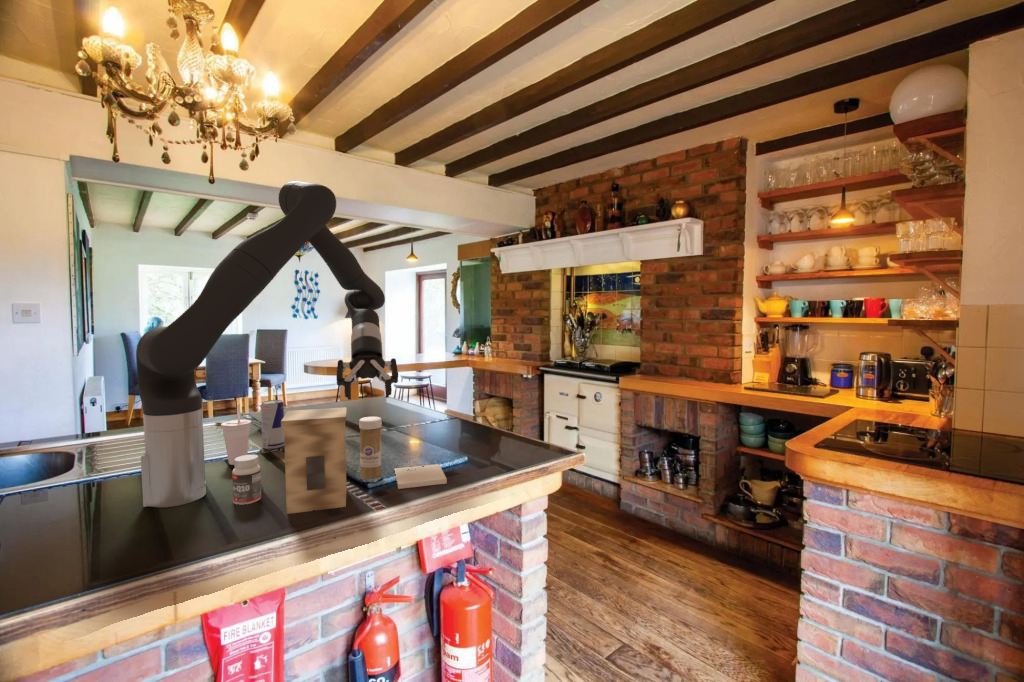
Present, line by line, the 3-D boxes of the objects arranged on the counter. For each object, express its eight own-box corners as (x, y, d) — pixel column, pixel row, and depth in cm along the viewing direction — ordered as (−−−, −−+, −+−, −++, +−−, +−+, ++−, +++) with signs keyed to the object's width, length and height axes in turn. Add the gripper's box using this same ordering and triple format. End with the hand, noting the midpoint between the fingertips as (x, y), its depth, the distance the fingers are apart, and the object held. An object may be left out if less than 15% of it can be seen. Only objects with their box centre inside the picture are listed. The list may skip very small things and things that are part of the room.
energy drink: (289, 445, 129) (287, 401, 128) (270, 450, 124) (268, 404, 123) (277, 442, 132) (275, 399, 131) (258, 447, 127) (256, 402, 126)
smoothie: (251, 464, 113) (249, 405, 112) (219, 468, 111) (217, 408, 110) (254, 456, 119) (252, 401, 118) (224, 459, 117) (222, 402, 116)
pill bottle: (227, 504, 90) (225, 460, 90) (244, 494, 95) (243, 453, 94) (250, 506, 90) (248, 462, 89) (266, 496, 94) (265, 454, 94)
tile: (398, 488, 98) (398, 484, 98) (394, 472, 108) (394, 468, 107) (446, 483, 101) (446, 478, 101) (439, 468, 111) (438, 464, 111)
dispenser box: (284, 515, 86) (280, 421, 84) (290, 496, 94) (287, 410, 93) (348, 507, 89) (345, 416, 88) (348, 490, 97) (346, 407, 96)
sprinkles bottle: (360, 484, 100) (358, 421, 99) (360, 477, 105) (359, 416, 104) (383, 482, 102) (381, 419, 101) (382, 475, 106) (381, 415, 105)
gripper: (336, 335, 118) (335, 389, 108) (395, 334, 122) (400, 385, 112) (337, 354, 123) (337, 407, 113) (394, 353, 128) (398, 403, 118)
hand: (368, 396), depth 113 cm, fingers open, 8 cm apart
